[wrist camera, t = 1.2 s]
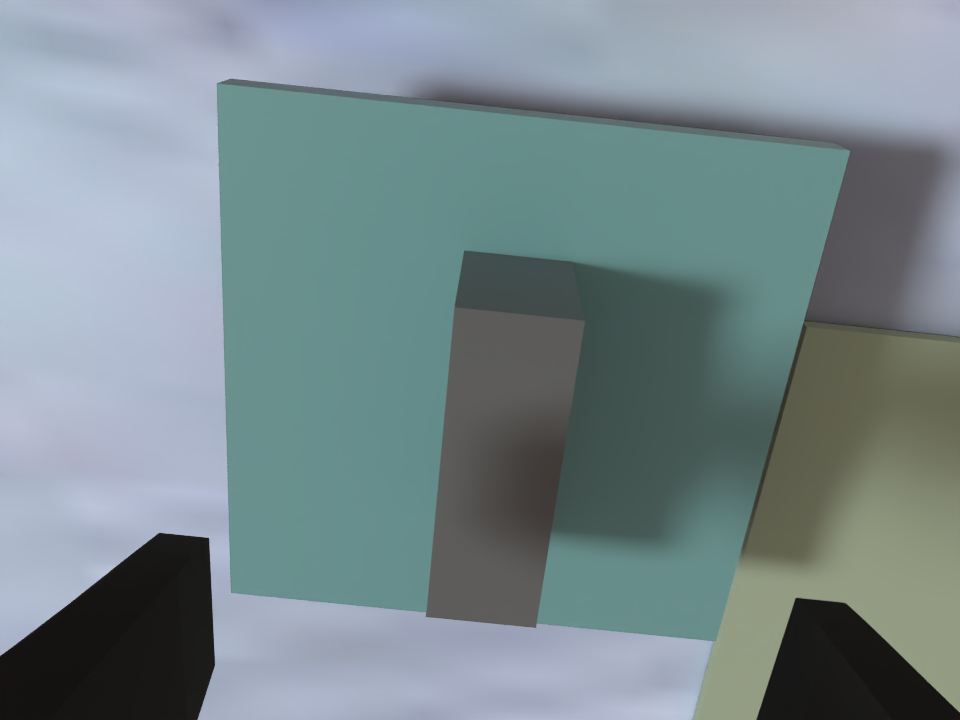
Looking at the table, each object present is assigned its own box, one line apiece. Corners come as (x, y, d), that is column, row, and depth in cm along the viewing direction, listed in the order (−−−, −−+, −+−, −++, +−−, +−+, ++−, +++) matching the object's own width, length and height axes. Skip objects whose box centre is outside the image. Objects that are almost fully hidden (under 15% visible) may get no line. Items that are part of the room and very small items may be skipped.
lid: (698, 583, 21) (750, 751, 16) (255, 539, 21) (183, 695, 16) (812, 131, 16) (928, 188, 12) (249, 72, 16) (148, 106, 12)
